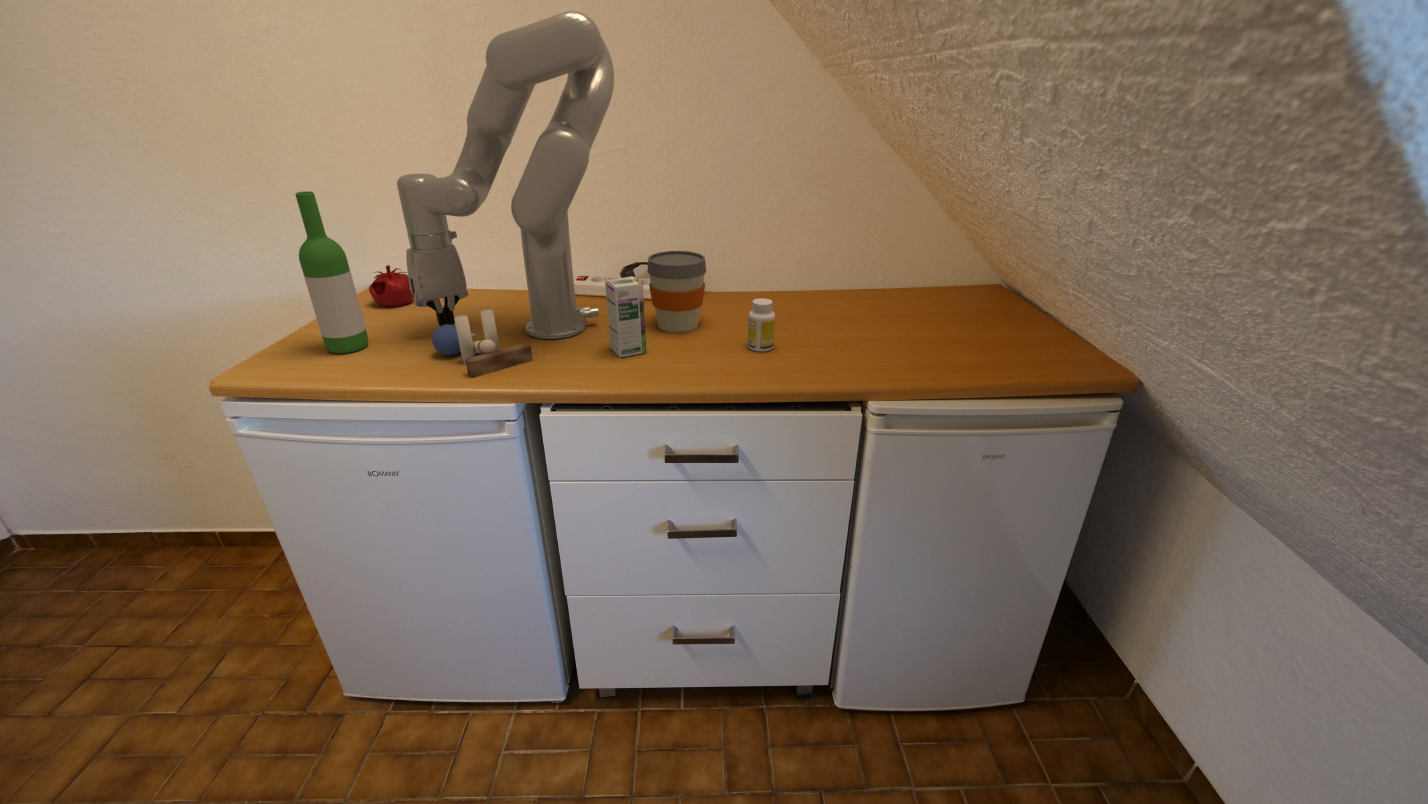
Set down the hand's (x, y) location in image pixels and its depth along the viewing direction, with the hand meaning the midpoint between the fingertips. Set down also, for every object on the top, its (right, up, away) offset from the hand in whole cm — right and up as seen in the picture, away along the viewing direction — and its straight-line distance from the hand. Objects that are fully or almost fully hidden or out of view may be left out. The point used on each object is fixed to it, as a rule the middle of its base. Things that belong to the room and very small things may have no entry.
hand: (447, 328), depth 132 cm
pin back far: (+9, -8, -11) cm, 17 cm away
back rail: (+16, -9, -13) cm, 23 cm away
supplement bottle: (+66, -5, -4) cm, 66 cm away
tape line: (+2, -3, -2) cm, 4 cm away
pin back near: (+13, -6, -8) cm, 17 cm away
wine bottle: (-17, -5, -6) cm, 19 cm away
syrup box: (+39, -5, -6) cm, 40 cm away
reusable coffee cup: (+48, +1, +7) cm, 49 cm away
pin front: (+9, -5, -8) cm, 13 cm away
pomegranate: (-20, +8, +19) cm, 29 cm away
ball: (+4, -3, -10) cm, 11 cm away
